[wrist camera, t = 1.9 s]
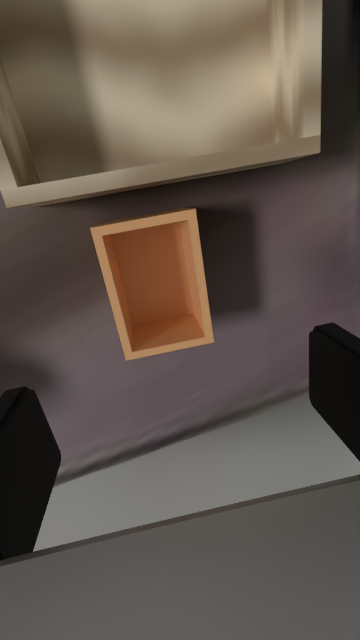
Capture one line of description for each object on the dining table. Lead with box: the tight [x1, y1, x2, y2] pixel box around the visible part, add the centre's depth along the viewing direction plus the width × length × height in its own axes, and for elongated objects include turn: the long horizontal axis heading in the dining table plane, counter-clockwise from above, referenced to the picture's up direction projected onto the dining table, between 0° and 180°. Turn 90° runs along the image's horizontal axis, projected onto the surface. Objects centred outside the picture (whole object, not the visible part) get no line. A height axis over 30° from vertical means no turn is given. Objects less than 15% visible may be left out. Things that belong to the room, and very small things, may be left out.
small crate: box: [90, 208, 214, 361], centre depth 24 cm, size 10×7×6 cm
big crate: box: [0, 0, 322, 208], centre depth 18 cm, size 18×20×6 cm
